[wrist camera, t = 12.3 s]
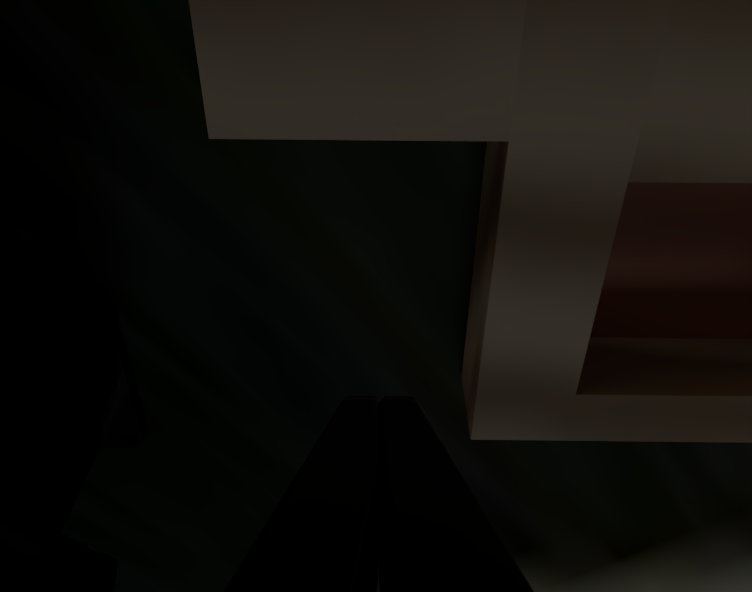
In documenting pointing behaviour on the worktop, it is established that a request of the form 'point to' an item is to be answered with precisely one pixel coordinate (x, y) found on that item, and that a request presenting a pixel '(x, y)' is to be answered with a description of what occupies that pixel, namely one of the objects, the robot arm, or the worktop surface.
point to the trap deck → (546, 185)
